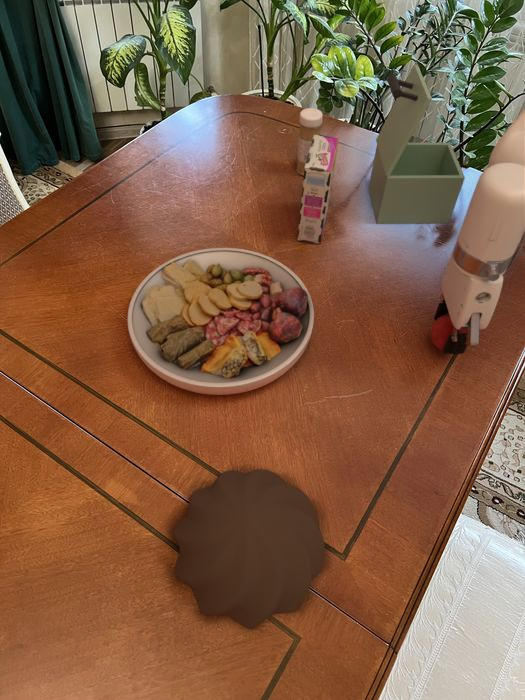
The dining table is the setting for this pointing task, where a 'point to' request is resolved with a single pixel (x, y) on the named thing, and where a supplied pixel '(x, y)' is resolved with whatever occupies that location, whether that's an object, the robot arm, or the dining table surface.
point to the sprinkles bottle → (307, 134)
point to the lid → (402, 116)
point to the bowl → (220, 320)
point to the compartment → (417, 185)
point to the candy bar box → (317, 188)
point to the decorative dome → (249, 546)
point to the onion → (443, 330)
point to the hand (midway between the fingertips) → (448, 335)
